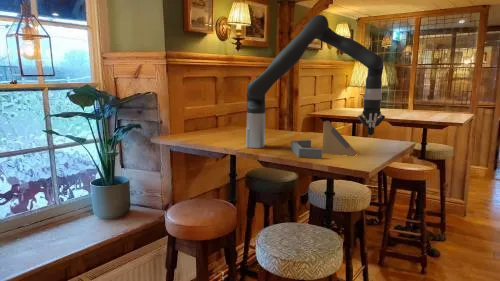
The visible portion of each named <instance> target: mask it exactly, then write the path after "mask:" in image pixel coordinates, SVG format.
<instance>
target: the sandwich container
mask: <svg viewBox="0 0 500 281" xmlns="http://www.w3.org/2000/svg"><path fill="white" fill-rule="evenodd" d="M322 127H323V129H322V130H323V131H322V147H321V149H322V154H326V155H336V156H343V155H347V156H346V157H353V156H355V155H356V154H357V153H358V152H357V151H356V150H355V148H353V146H351V144H350V143H349V142H348V141H347V140H346V139H345V138H344V137H343V136H342V134H340V132H339V131H338V130H337V128H336V127H335V126H334V125H333V124H332V123H331V122H330V121H329V120H325V121H324V122H323V126H322ZM357 155H358V154H357ZM357 155H356V156H357ZM356 156H355V157H356Z"/></svg>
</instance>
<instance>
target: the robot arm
mask: <svg viewBox="0 0 500 281" xmlns="http://www.w3.org/2000/svg"><path fill="white" fill-rule="evenodd" d="M329 25H330V24H329V20H328V18H327V17H326V16H325V15H323V14H317V15H315V16H313V17H312V18H311V19H310V20H309V21H308V22H307V24H306V25H305V26H304V27H303V28H302V30H301V31H300V32H299V33H298V34H297V35H296V36H295V37H294V38H293V39H292V40H291V41H290V42H289V43H288V44H287V45H286V46H285V47H284V48H283V49H282V50H281V51H280V52H279V53H278V54H277V55H276V56H275V57H274V59H273V60H272V61H271V63H270V64H269V65H268V67H267V68H266V69H265V70H264V72H262V73H261V74H260V75H259V76H257V78H255V79H253V80H251V81H250V82H249V83H248V84H247V86H246V126H245V128H246V130H245V137H246V138H245V146H246V148H250V149H261V148H265V142H266V141H265V140H266V138H265V136H266V94H267V93H268V91H269V90H270V89H271V88H272V87H273V86H274V85H275V83H276V82H277V81H279V79H281V78H282V77H283V76H284V75H285V74H286V73H287V72H289V71H290V70H291V69H292V68H294V66H296V64H297V63H298V62H299V61H300V59H301V58H302V57H303V55H304V53H305V51H307V49H308V47H309V46H310V44H311V43H313V41H314V40H318V41H319V42H322V43H325V44H327V45H329V46H332V47H333V48H335V49H337V50H339V51H341V52H343V53H344V54H345V55H347V56H348V57H350V58H352V59H354V60H356V61H358V62H359V63H360V64H361V65H362V66H364V67H366V68H367V76H366V78H365V85H364V86H365V89H364V95H363V96H364V97H363V110H362V112H361V114H358V115H357V118H358V120H359V121H360V122H361V124H362V125H363V126H365V127H366V128H367V129H366V134H367V135H368V136H373V135H374V133H375V128H376V127H379V125H380V124H381V123H382V122H383V121H384V119H385V118H386V115H384V114H382V111H381V106H382V84H383V83H382V80H383V79H382V78H383V72H384V65H385V63H384V59H383V57H382V56H381V55H379V54H377V53H375V52H373V51H372V50H369V49H368V48H367V47H366V46H364V45H363V44H361V43H360V42H358V41H356V40H354V39H352V38H350V37H346V36H343V35H341V34H338V33H337V32H336V31H334V30H332V29H331V28H330V26H329ZM364 118H365V119H366V120H365V119H364Z"/></svg>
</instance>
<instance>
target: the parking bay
mask: <svg viewBox="0 0 500 281" xmlns="http://www.w3.org/2000/svg"><path fill="white" fill-rule="evenodd" d="M290 150H291V151H292V152H293V153H294V154H295V155H296V157H297V158H303V159H305V158H307V159H323V153H322V148H316V147H315V148H314V147H312V140H311V139H303V140H302V139H301V140H290Z"/></svg>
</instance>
